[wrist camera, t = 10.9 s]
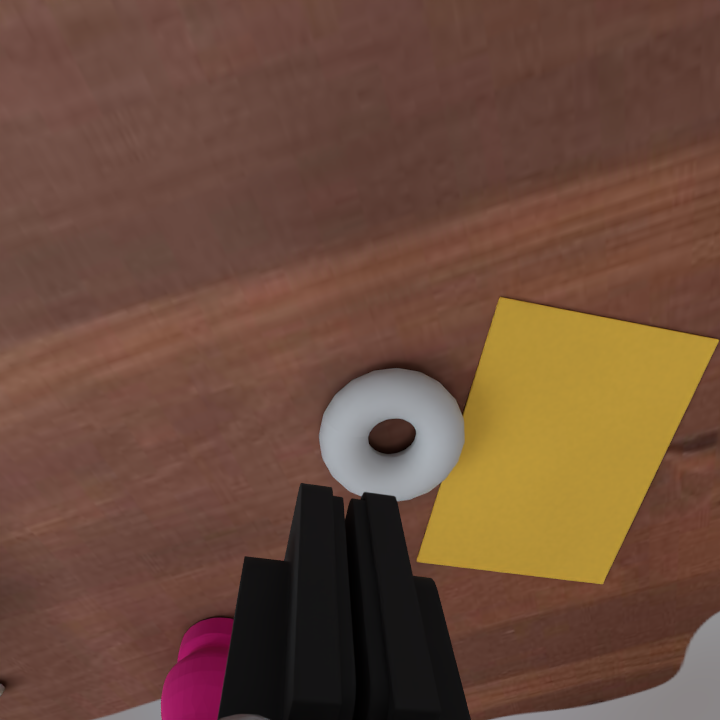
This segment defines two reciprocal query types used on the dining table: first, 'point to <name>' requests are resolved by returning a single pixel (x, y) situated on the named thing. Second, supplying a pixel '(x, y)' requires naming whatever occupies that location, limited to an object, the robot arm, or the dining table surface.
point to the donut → (388, 401)
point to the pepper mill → (198, 672)
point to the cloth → (561, 441)
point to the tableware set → (1, 689)
